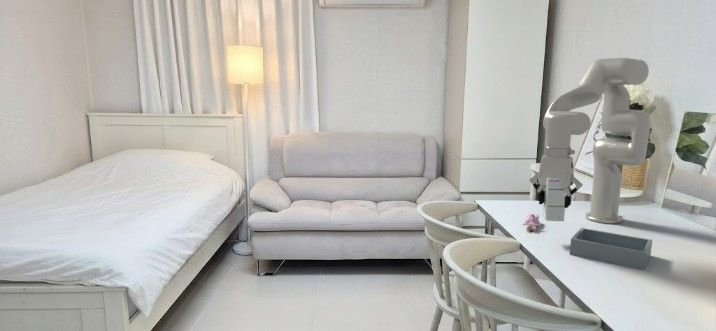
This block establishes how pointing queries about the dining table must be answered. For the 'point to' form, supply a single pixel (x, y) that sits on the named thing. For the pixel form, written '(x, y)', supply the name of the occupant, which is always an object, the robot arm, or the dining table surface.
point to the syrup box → (554, 200)
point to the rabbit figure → (532, 222)
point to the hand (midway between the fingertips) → (553, 204)
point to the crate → (611, 248)
